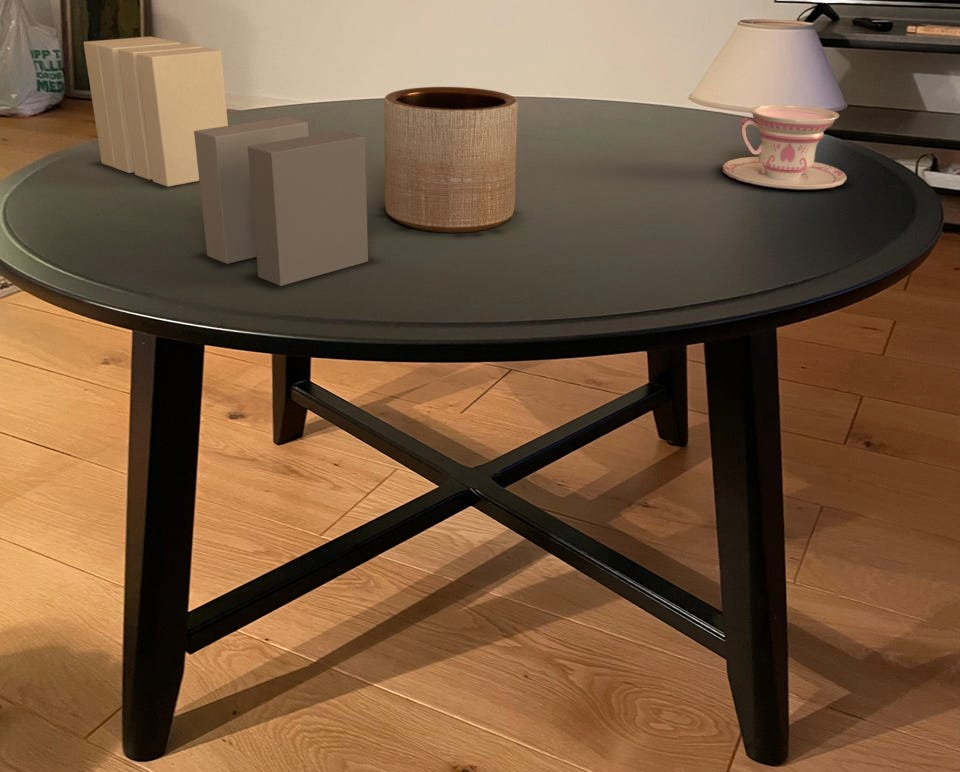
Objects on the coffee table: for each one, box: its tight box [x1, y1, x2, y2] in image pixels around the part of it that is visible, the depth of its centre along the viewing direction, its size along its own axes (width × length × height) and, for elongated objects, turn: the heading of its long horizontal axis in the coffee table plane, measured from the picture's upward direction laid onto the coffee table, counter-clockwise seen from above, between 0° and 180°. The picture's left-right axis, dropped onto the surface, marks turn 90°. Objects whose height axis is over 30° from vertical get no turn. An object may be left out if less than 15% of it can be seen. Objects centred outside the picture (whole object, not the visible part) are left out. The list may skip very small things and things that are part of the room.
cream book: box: [118, 42, 203, 181], centre depth 95 cm, size 7×2×11 cm, turn 137°
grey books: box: [194, 116, 369, 287], centre depth 74 cm, size 8×9×9 cm
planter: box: [383, 86, 519, 233], centre depth 84 cm, size 11×11×10 cm
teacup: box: [722, 104, 847, 190], centre depth 101 cm, size 12×12×6 cm
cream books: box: [83, 36, 229, 188], centre depth 95 cm, size 7×12×11 cm, turn 47°
